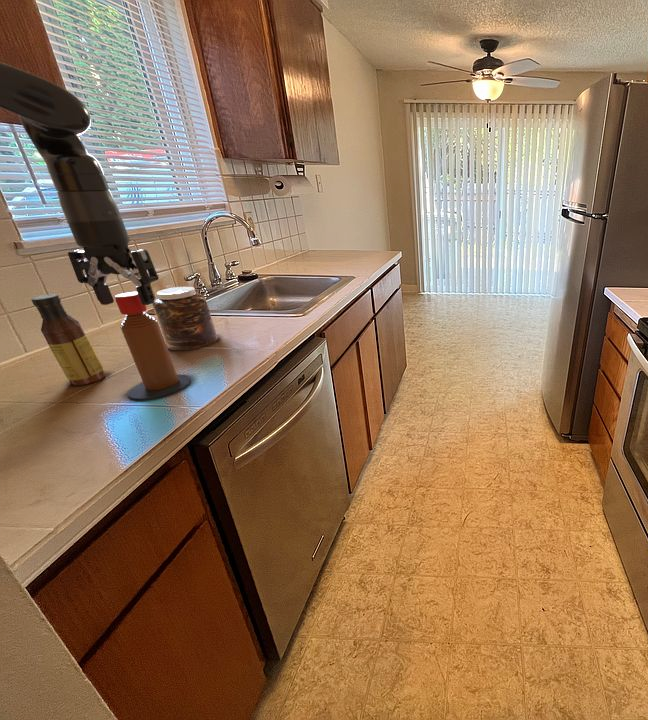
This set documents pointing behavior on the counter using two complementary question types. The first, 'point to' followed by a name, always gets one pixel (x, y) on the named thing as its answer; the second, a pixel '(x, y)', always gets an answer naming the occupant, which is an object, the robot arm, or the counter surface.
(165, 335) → the jar
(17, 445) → the counter surface
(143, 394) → the coaster
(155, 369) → the bottle
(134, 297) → the cap
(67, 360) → the sauce bottle
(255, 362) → the counter surface
